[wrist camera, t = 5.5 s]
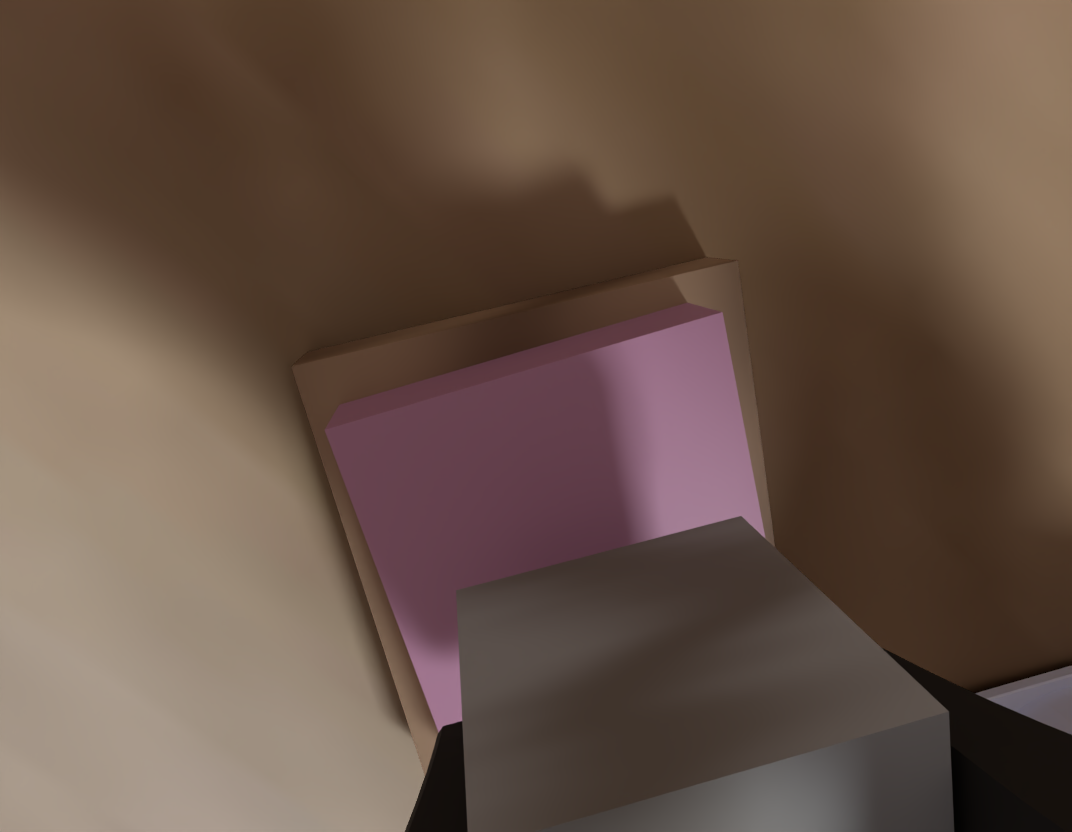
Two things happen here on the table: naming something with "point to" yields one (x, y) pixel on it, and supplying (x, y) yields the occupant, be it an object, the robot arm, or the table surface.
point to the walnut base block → (485, 338)
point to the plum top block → (541, 467)
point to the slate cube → (689, 699)
